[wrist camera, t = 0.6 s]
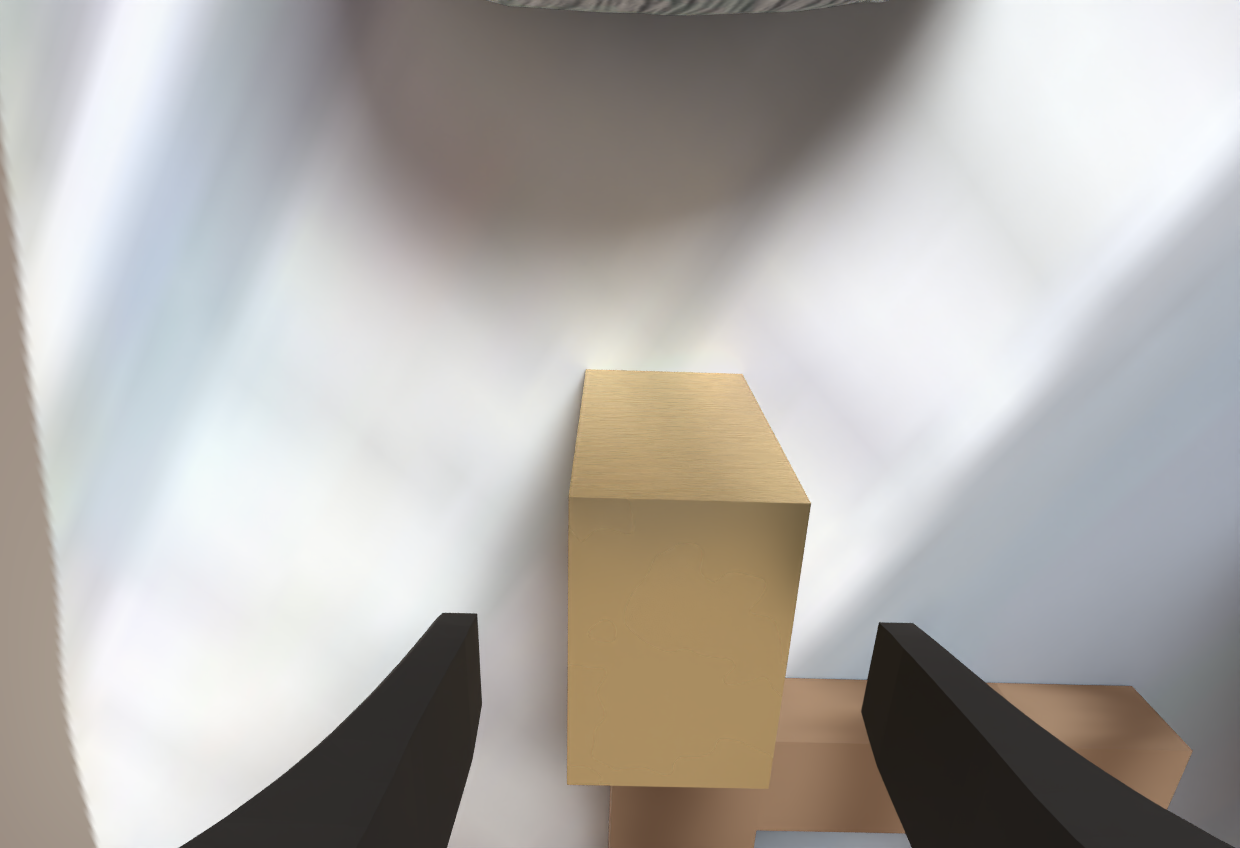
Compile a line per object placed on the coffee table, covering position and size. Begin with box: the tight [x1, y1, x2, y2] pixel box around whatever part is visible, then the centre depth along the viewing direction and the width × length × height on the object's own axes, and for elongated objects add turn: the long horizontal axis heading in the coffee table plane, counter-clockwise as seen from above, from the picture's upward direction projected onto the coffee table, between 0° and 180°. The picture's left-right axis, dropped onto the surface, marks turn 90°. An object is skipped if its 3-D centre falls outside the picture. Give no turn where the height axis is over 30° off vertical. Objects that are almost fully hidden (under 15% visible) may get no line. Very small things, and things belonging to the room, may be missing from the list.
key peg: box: [567, 369, 811, 789], centre depth 16 cm, size 4×6×7 cm, turn 178°
